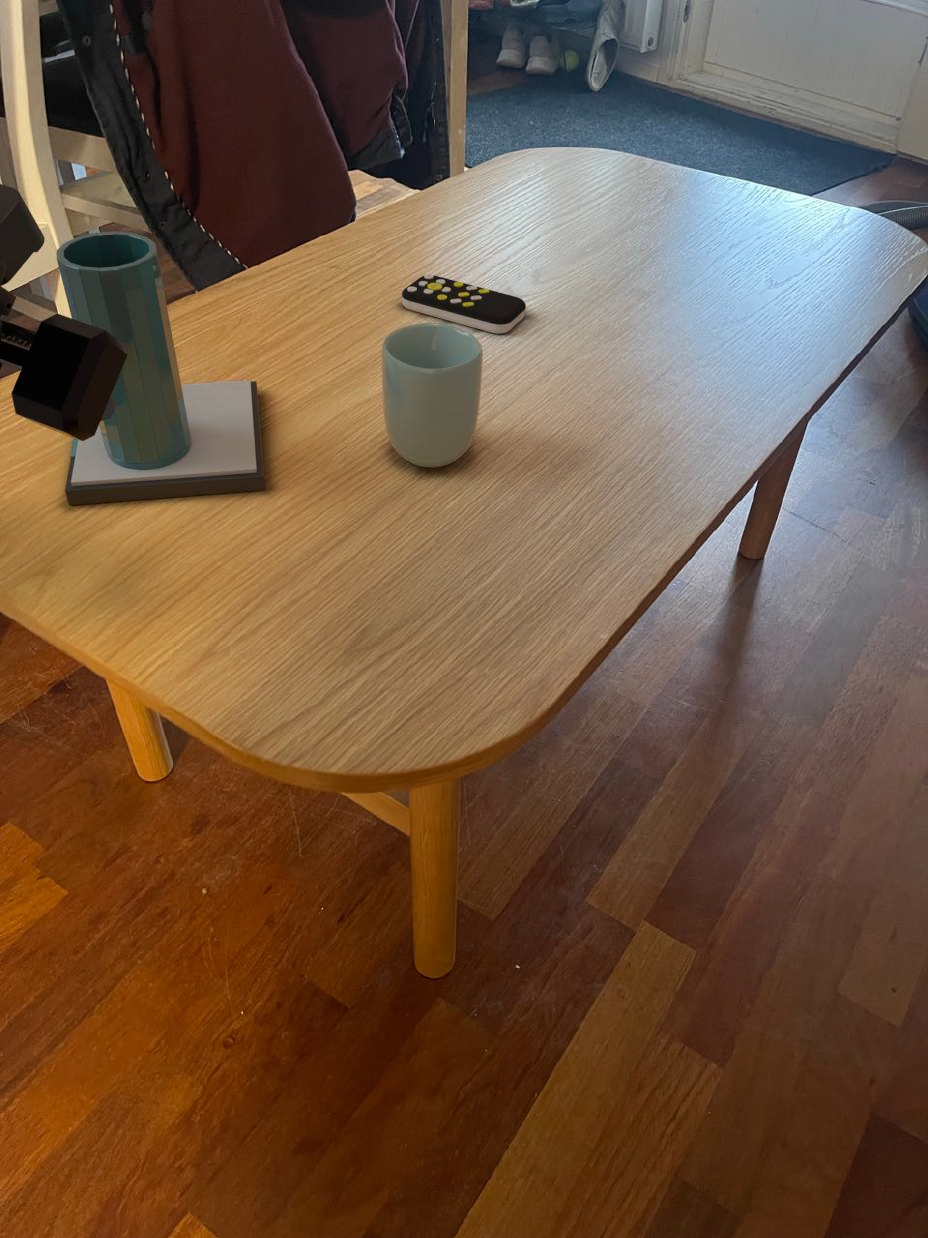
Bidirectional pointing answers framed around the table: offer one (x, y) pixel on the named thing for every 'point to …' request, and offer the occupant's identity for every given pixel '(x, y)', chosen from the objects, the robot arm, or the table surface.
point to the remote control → (464, 303)
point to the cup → (431, 392)
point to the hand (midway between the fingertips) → (54, 389)
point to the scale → (211, 466)
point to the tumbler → (131, 344)
